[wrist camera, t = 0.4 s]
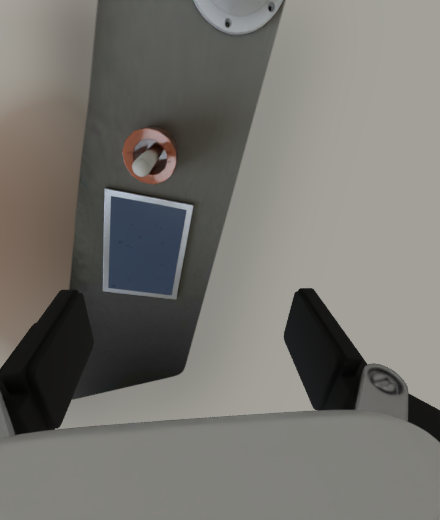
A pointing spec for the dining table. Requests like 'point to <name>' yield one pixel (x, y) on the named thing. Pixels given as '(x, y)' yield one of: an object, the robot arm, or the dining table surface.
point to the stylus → (146, 161)
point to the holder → (141, 142)
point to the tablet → (144, 243)
